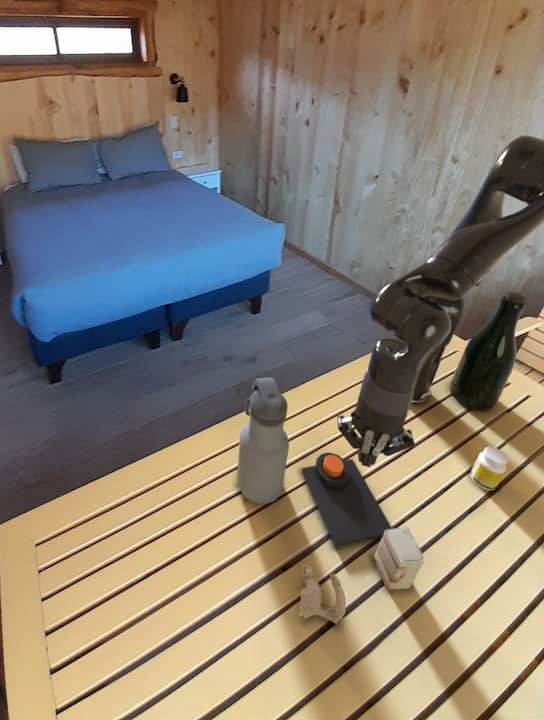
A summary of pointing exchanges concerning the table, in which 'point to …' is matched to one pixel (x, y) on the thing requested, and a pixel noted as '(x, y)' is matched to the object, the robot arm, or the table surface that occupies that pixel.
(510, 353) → the dark green wine bottle
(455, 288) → the robot arm
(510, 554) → the table surface
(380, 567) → the white medicine box
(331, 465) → the button
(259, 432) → the water bottle
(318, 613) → the beige figurine
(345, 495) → the black button panel
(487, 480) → the supplement bottle
